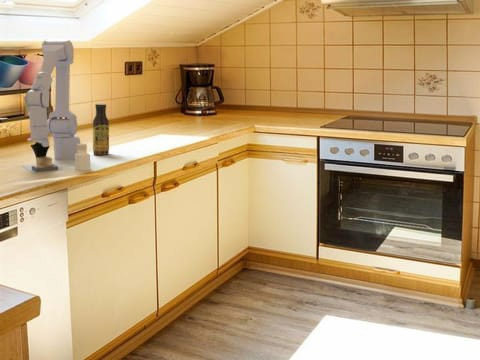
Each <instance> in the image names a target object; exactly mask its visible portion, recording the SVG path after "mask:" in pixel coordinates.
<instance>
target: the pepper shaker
mask: <svg viewBox="0 0 480 360" xmlns="http://www.w3.org/2000/svg"><path fill="white" fill-rule="evenodd" d="M87 144H88V143H80V144H77V150H78V153H77V154H75V158H74V169H75V171H79V172H84V171H90V170H91V168H92V167H91V154H90V153H88V149H87V148H88V147H87Z"/></svg>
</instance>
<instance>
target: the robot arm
mask: <svg viewBox="0 0 480 360" xmlns="http://www.w3.org/2000/svg"><path fill="white" fill-rule="evenodd" d="M74 50H75V48H74V45H73V42H72V41H71V40H70V39H44V40H43V42H42V44H41V52H42V55H43V58H42V59H43V60H42V63H41V67H40V71H39V72H37V73H36V74H35V77H34V80H33V82H32V85H31V87H30V90H28V91H27V92H25V94H24V95H25V96H24V103H25V105H26V111H27V112H28V115H29V116H28V117H29V129H30V138H26V139H27V141H28V142H32V143H33V144H30V147H31V149H32V150H33V154H34V156H35V158H36V157H45V156H47V153H48V151H49V148H50V146H51V145H50V138H49V135H50V136H51V138H52V139H53V141H52V142H53V155H54V159H55V160H71V159H72V160H73V159H75V154H77V153H78V150H77V144H81V140H80V139H81V138H80V137H79V135H76V134H77V133H78V128H79V127H78V125H79V124H78V120H77V118H78V117H77V115H76V114H75V113H73V111H72V110H70V75H71V74H70V71H71V69H70V68H71V67H70V66H71V65H72V64H73V63H74V56H75V55H74V52H75V51H74ZM54 69H55V93H54V94H55V95H54V96H55V99H54V101H55V104H54V105H55V108H54V110H52V112H51V113H49V114H47V113H48V112H47V110H48V108H47V107H48V106H49V104H50V89H51V86H52V83H53V77H52V73H53V71H54Z"/></svg>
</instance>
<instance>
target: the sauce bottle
mask: <svg viewBox="0 0 480 360" xmlns="http://www.w3.org/2000/svg"><path fill="white" fill-rule="evenodd" d="M109 123H110V121H109V119H108V117H107V104H106V103H95V117H94V119H93V120H92V151H93V155H95V156H107V155H108V154H109V153H110V151H109V150H110V125H109Z"/></svg>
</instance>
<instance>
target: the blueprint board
mask: <svg viewBox="0 0 480 360" xmlns="http://www.w3.org/2000/svg"><path fill="white" fill-rule="evenodd" d="M21 167H22V168H24V169H26V170H28V171H29V172H30V173H32V174H41V173H49V172H56V171H57V172H58V171H59V172H60V171H63V169H62V168H60V167H59V166H58V165H56V164H54V163H52V166H51V167H42V168H37V164H26V165H21Z"/></svg>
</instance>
